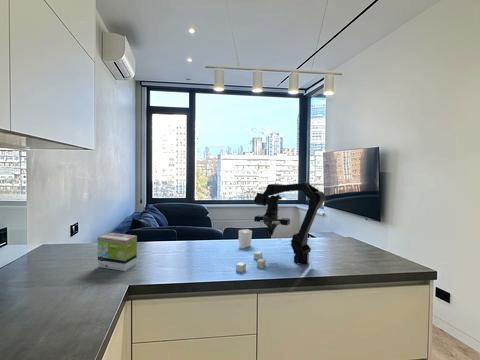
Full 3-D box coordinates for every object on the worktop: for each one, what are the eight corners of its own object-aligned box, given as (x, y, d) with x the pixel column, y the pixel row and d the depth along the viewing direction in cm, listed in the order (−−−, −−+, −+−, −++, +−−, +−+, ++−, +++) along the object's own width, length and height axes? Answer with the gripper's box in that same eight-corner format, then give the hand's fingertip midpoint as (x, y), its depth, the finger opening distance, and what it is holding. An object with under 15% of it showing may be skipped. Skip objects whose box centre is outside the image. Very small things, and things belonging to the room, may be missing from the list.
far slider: (262, 257, 167) (262, 252, 167) (259, 259, 163) (259, 254, 163) (256, 256, 168) (257, 251, 168) (253, 258, 165) (254, 253, 164)
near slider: (245, 269, 149) (245, 263, 149) (241, 272, 146) (242, 265, 145) (239, 268, 150) (240, 262, 150) (235, 270, 147) (236, 264, 147)
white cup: (253, 248, 187) (254, 232, 186) (241, 249, 184) (241, 233, 183) (248, 245, 194) (248, 229, 194) (236, 246, 192) (236, 229, 191)
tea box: (96, 267, 149) (96, 237, 148) (110, 261, 159) (110, 232, 157) (125, 271, 145) (125, 240, 144) (137, 264, 155) (137, 234, 154)
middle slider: (265, 265, 155) (265, 259, 155) (262, 267, 152) (262, 261, 152) (259, 264, 157) (260, 258, 156) (256, 266, 153) (256, 260, 153)
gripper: (250, 207, 167) (249, 236, 168) (284, 211, 159) (283, 241, 161) (258, 204, 177) (257, 232, 178) (291, 208, 169) (289, 236, 171)
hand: (271, 235), depth 172 cm, fingers closed
